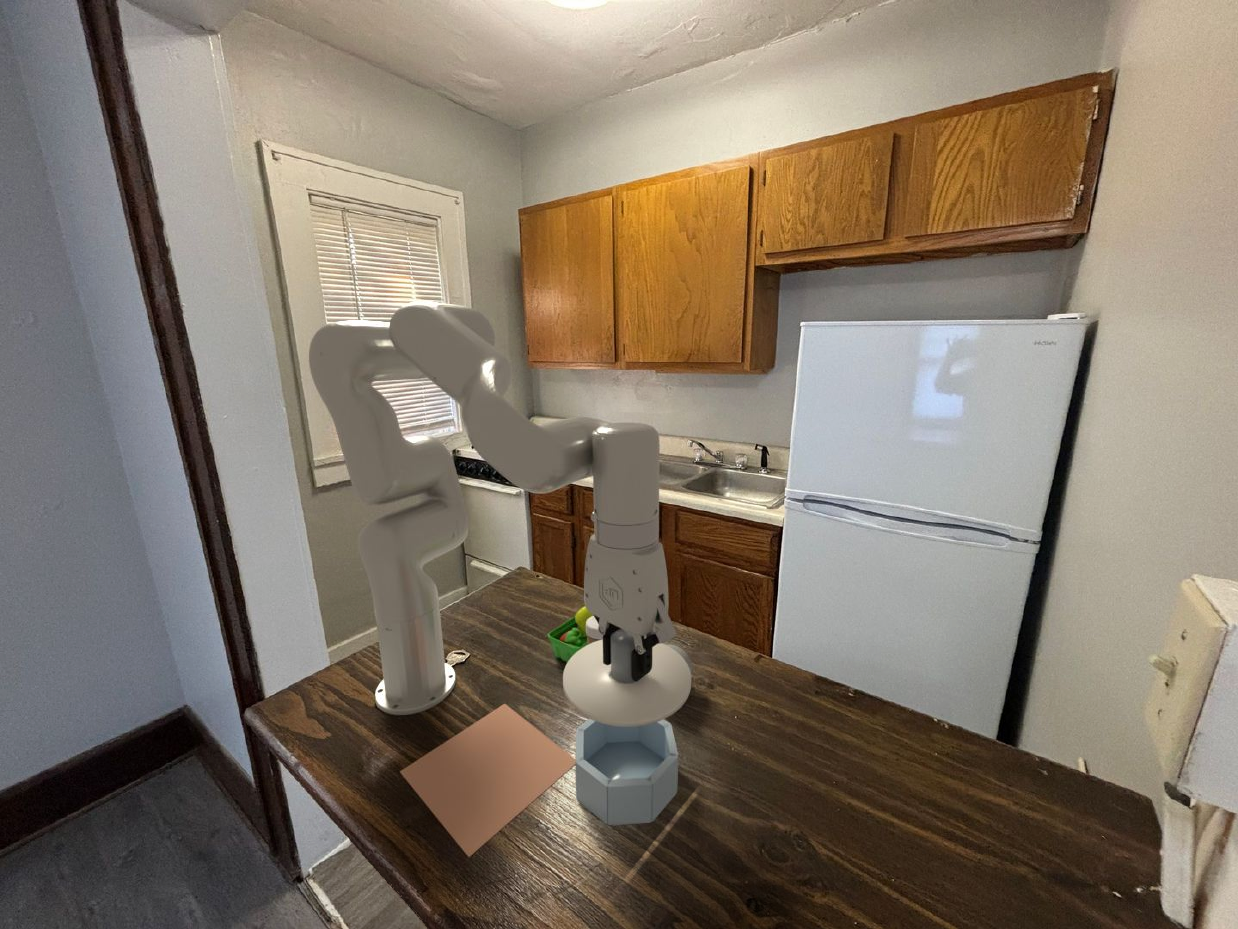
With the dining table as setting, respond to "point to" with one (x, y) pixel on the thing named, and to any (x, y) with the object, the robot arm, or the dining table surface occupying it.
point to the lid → (626, 683)
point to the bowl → (626, 770)
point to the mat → (487, 776)
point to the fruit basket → (570, 635)
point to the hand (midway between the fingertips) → (627, 666)
